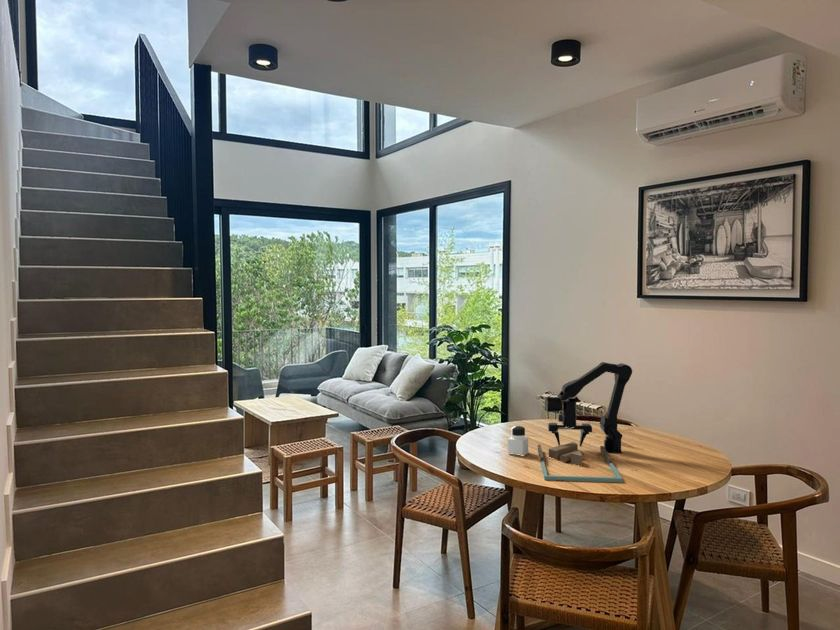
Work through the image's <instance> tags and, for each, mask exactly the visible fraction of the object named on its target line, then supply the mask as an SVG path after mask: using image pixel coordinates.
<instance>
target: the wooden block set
mask: <svg viewBox="0 0 840 630" xmlns="http://www.w3.org/2000/svg"><path fill="white" fill-rule="evenodd" d="M578 445H579V444H577V443H576V442H573V441H572V442H569V443H566V444H560V446H559V445H557V446H553V447H550V448H548V458H549V457H551V458H554V459H560V462H561V461H562V462H561V463H563V462H565V463H568V462H571V463H572V464H571V463H570V464H571V465H574V464H575V466H578V465H579V466H578V467H582V468H583V467H584V465H583V463H584V462H583V456H584V453H583V452H584V451H582V450H581V449H579V446H578ZM554 459H553V460H554Z"/></svg>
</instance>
